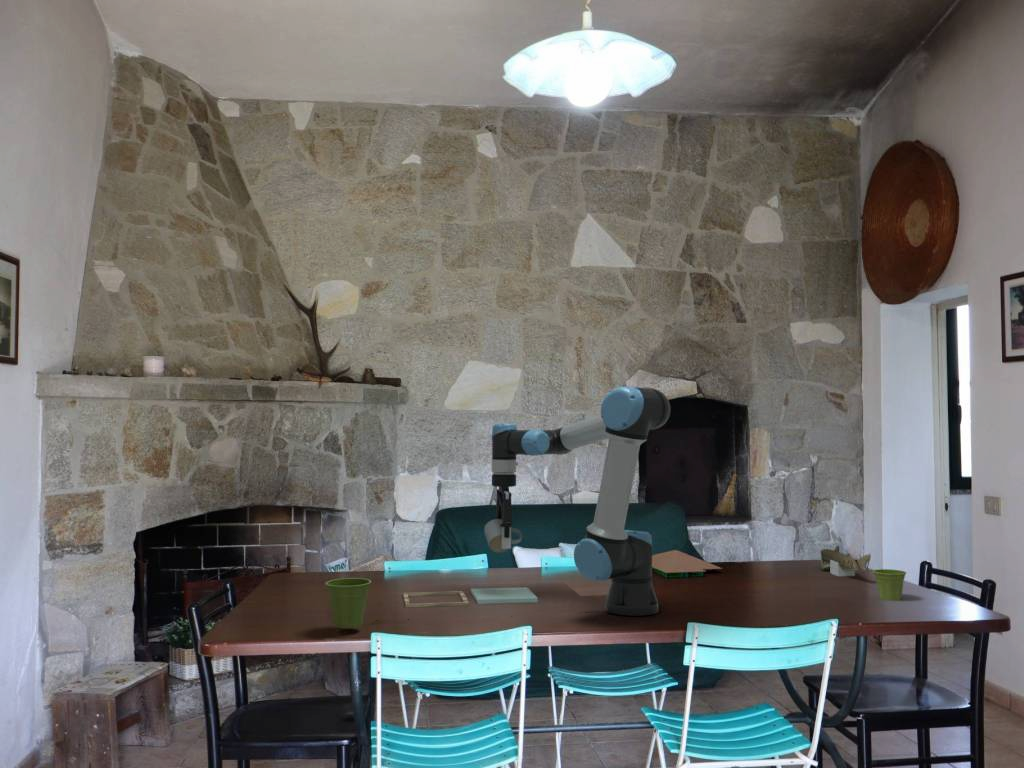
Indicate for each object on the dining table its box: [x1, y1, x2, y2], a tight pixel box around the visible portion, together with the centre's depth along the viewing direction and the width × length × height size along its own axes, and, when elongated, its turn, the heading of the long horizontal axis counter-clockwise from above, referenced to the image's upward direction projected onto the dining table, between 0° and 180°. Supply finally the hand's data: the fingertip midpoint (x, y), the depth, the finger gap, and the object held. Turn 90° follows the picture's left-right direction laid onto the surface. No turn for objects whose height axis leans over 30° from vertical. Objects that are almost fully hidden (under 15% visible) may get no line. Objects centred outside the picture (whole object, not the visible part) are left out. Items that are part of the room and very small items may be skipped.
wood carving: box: [820, 545, 872, 577], centre depth 304 cm, size 9×35×11 cm, turn 4°
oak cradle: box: [402, 590, 470, 608], centre depth 264 cm, size 18×18×1 cm
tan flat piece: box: [652, 549, 723, 579], centre depth 319 cm, size 23×33×8 cm
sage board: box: [470, 586, 539, 605], centre depth 269 cm, size 18×18×1 cm
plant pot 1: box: [324, 577, 372, 629], centre depth 231 cm, size 12×12×11 cm
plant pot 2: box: [872, 568, 907, 602], centre depth 268 cm, size 9×9×9 cm
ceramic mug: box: [483, 518, 523, 554], centre depth 270 cm, size 11×8×8 cm
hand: (503, 546), depth 270 cm, fingers closed on ceramic mug, 10 cm apart
